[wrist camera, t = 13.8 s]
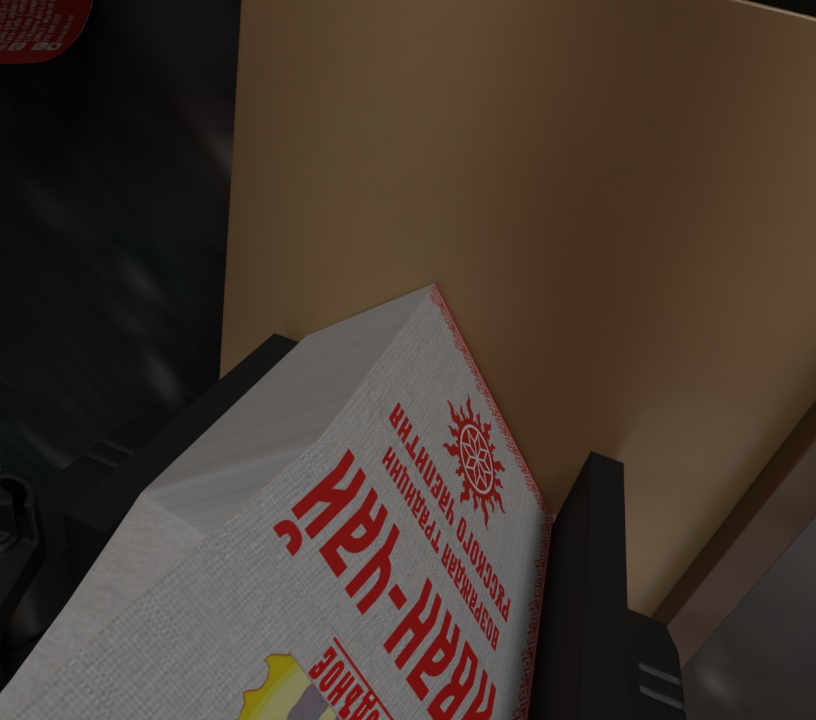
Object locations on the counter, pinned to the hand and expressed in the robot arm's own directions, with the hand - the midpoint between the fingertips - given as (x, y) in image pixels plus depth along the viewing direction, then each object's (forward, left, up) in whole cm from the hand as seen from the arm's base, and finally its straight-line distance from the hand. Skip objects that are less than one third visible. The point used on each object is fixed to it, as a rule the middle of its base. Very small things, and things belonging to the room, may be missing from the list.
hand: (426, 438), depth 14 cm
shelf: (+1, 0, -4) cm, 4 cm away
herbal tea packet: (0, 0, -1) cm, 1 cm away
